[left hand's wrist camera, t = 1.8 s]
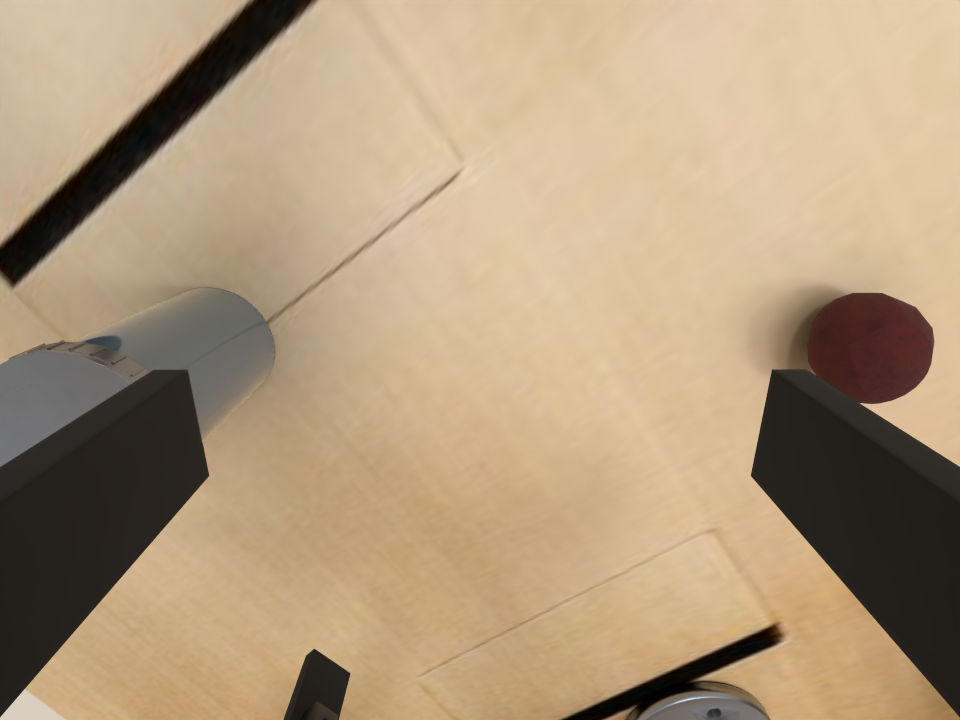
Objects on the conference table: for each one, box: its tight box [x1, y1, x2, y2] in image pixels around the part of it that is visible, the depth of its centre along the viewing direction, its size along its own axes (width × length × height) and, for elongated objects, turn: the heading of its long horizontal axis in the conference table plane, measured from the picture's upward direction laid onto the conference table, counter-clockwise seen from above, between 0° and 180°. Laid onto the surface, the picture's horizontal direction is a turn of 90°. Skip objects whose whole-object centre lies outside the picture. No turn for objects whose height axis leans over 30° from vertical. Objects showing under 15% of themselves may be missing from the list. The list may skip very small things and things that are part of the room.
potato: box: [808, 293, 934, 404], centre depth 37 cm, size 7×8×7 cm
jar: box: [71, 288, 275, 443], centre depth 34 cm, size 9×9×15 cm
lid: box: [0, 341, 149, 467], centre depth 27 cm, size 10×10×2 cm
